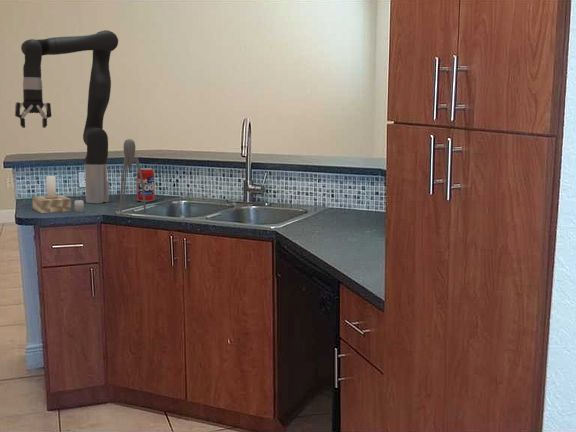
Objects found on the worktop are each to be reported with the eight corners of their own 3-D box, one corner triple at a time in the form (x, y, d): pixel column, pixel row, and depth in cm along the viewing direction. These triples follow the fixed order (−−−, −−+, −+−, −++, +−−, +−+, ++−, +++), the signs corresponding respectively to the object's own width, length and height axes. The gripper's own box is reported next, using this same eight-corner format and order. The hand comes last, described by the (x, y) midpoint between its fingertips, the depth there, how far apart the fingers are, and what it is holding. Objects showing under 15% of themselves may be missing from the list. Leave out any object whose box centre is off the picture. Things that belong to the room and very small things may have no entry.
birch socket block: (61, 207, 304) (61, 195, 304) (71, 211, 295) (70, 199, 294) (32, 208, 297) (32, 197, 297) (41, 213, 288) (41, 200, 287)
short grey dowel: (81, 210, 297) (81, 200, 296) (85, 212, 294) (84, 201, 293) (73, 211, 295) (73, 200, 294) (76, 212, 292) (76, 201, 291)
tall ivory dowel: (54, 209, 299) (53, 175, 296) (57, 210, 296) (56, 176, 293) (46, 209, 297) (45, 176, 294) (48, 210, 294) (47, 177, 291)
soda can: (147, 199, 333) (147, 167, 331) (157, 201, 328) (157, 168, 325) (133, 200, 328) (133, 168, 325) (143, 203, 322) (143, 169, 320)
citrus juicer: (146, 211, 300) (145, 139, 295) (131, 214, 291) (130, 140, 286) (124, 208, 304) (123, 138, 299) (108, 212, 295) (108, 139, 290)
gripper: (47, 89, 306) (48, 127, 309) (12, 88, 298) (13, 127, 300) (52, 89, 300) (53, 128, 303) (17, 88, 292) (18, 128, 294)
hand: (33, 127), depth 301 cm, fingers open, 8 cm apart
